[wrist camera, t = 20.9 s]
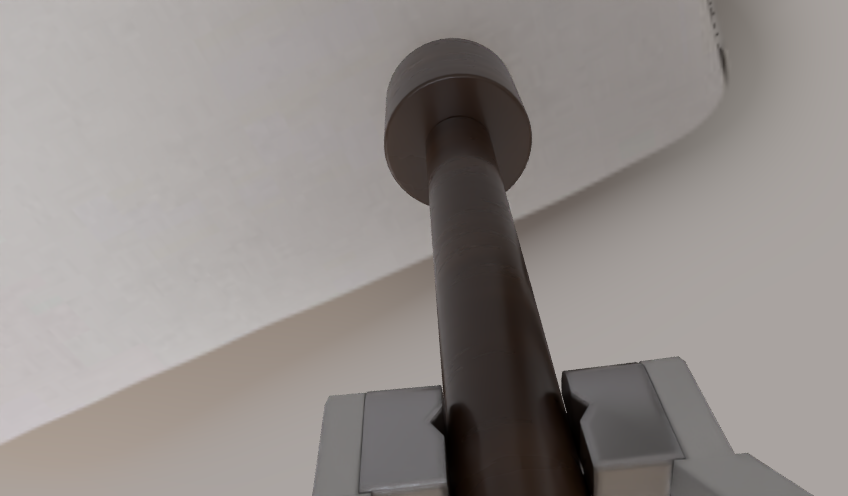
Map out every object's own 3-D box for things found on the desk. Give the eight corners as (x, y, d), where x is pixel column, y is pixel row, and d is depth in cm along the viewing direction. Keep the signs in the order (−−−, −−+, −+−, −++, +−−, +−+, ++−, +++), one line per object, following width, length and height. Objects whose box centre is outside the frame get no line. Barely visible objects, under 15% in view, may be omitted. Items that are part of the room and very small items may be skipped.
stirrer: (507, 26, 18) (768, 544, 5) (520, 149, 20) (732, 744, 7) (374, 50, 18) (311, 601, 5) (399, 170, 20) (398, 780, 7)
